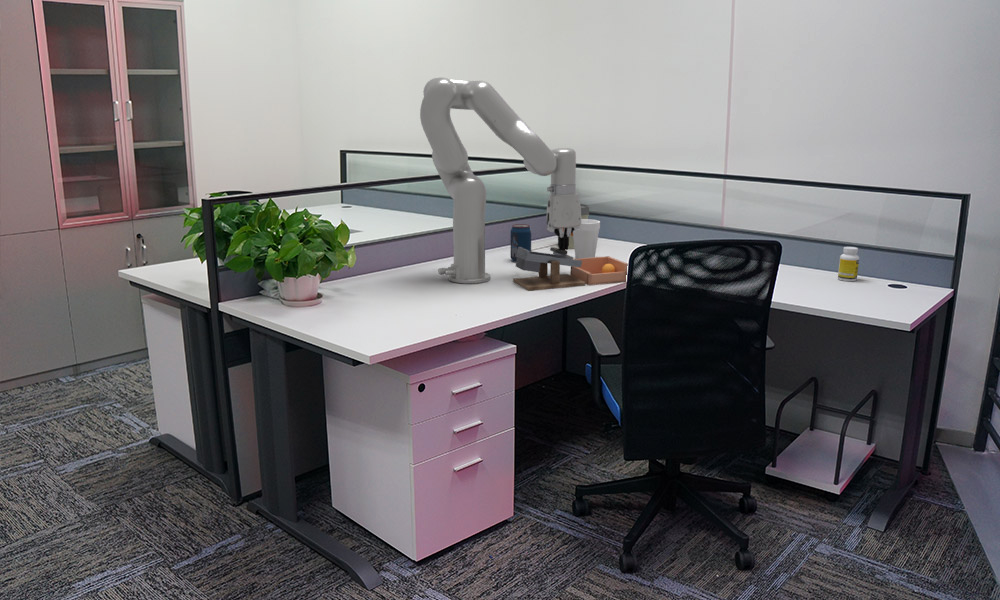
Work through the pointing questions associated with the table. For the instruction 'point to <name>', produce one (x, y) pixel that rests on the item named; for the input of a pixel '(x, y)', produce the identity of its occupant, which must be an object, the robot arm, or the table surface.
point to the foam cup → (586, 238)
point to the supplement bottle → (848, 264)
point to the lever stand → (549, 279)
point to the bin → (599, 270)
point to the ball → (608, 268)
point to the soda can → (520, 239)
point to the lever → (543, 259)
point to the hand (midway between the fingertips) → (563, 249)
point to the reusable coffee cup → (583, 216)
